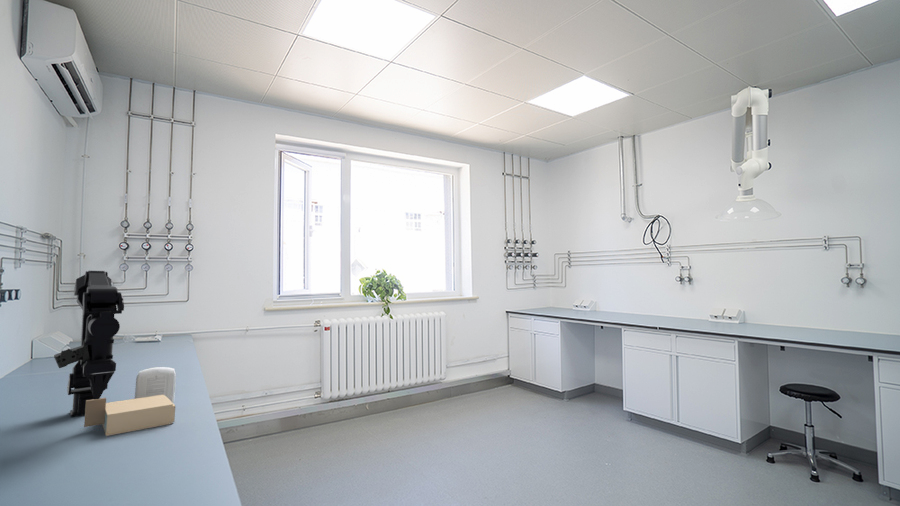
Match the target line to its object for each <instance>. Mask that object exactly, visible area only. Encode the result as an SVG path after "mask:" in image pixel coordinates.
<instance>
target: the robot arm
mask: <svg viewBox="0 0 900 506" xmlns="http://www.w3.org/2000/svg"><path fill="white" fill-rule="evenodd" d="M108 275H109V274H108V271H105V270H88V271H85V273H84V274H83V275H82V276H80V277H77V278H76V279H75V284H74V289H73V291H74V292H73V296H74V297H75V296H76V303H77V304H78V306H79V307H80V309H82V316H81V317H82V318H81V320H82V321H81V332H80V333H81V334H80V335H81V336H80V337H81V338H80V345H78V346H77V347H73V348H67V349H64V350H61V352H59V353H56V354H54V356H53V358H54V361H55V362H56V364H57V366H58V368H59V369H61V368H64V367H68V365H72V364H74V363H75V364H74V366H73V367H72V372H71V373H69V375H68V380H67V387H66V388H67V389H66V390H67V391H66V392H67V395H68V396H71V395H72V409H70V410H69V416H70V417H78V416H83V415H84V416H85V407H86V400H92V399H94V400H95V399H99V398H102V395H103V393H104V391H106V390H108V386H109V382H110V380H111V379H112V377H113V375H114V374H115V371H116V370H117V369H116V368H117V362H116V360H115V361H114V359H113V358H114V357H113V356H114V354H113V344H114V343H115V339H114V336H116V335H117V334H118V332H119V331H120V327H121V326H120V324H121V323H120V322H119V321H118V319H117V318H116V317H115V315H117V314H118V315H119V314H122V312H123V311H125V310H124V309H125V303H124V296H123V295H122V292H121V291H119V289H118V288H117V287H116V286H113V285H112V279H111V278H110V277H109V276H108Z"/></svg>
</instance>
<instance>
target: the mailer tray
mask: <svg viewBox="0 0 900 506" xmlns="http://www.w3.org/2000/svg"><path fill="white" fill-rule="evenodd" d="M106 403H107V398H106V397H100V398H99V399H95V400H94V399H92V400H86V407H85V415H84V422H83V423H84V424H83V427H84V428H86V427H87V428H88V427H92V426H98V425H100V426H101V425H102V424H104V428H105V431H106V427H107V414H106V412H105V409H106ZM104 428H103V429H104ZM105 431H104V432H105Z"/></svg>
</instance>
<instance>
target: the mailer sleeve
mask: <svg viewBox="0 0 900 506" xmlns="http://www.w3.org/2000/svg"><path fill="white" fill-rule="evenodd" d="M105 412H106V414H107V427H106V431H105V428H104V424H101V425H102V427H103V430H104V433H105V436H106V437H108V436H113V435H118V434H124V433H130V432H134V431H140V430H145V429H150V428H156V427H160V426H161V427H162V426H167V425H171V424H173V423H174V422H175V417H176V405H175V403H174V404H173V403H172V402H171V401H170V400H169V399H168V398H167V397H166V396H164V395H157V396H150V397H143V398H136V399H135V398H129V399H124V400H117V401H111V402H106V409H105Z"/></svg>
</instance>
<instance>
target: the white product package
mask: <svg viewBox="0 0 900 506" xmlns="http://www.w3.org/2000/svg"><path fill="white" fill-rule="evenodd" d="M176 374H177V373H176V371H175V368H172V367H168V366H157V367H150V368H145V369H142V370H140V371H138V374H137V375H136V379H135V388H134V389H135V391H134V399H136V398H143V397H150V396H157V395H164V396H166V397H167V398H168V399H169V400H170V401H171V402H172V403H173V404H174V405H175V398H176V397H175V395H176V394H175V393H176V384H177V383H176V381H177V375H176Z"/></svg>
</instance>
